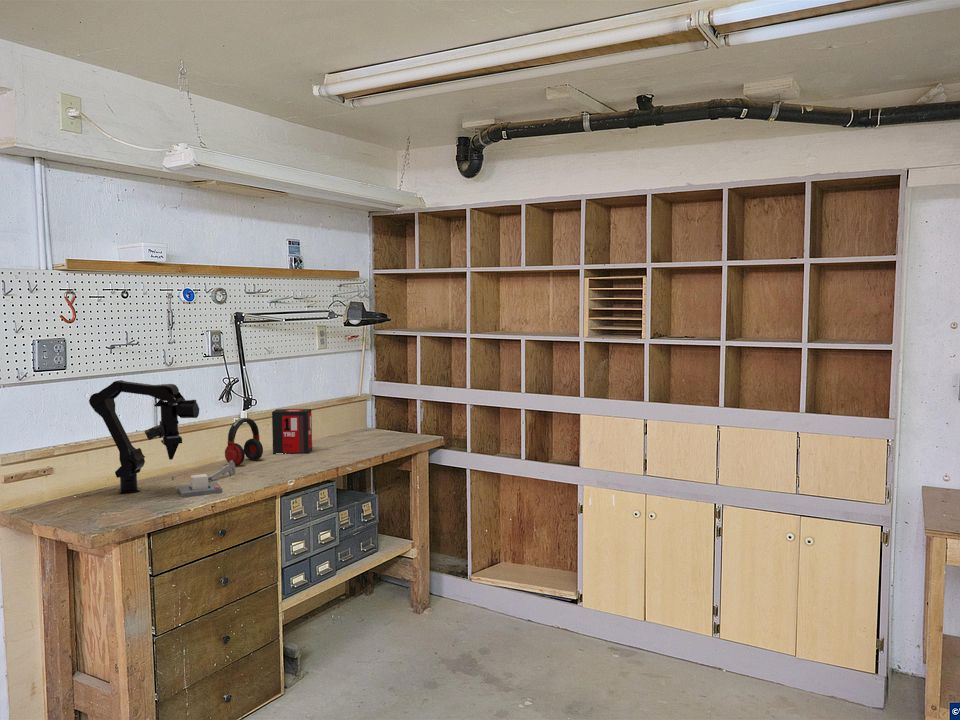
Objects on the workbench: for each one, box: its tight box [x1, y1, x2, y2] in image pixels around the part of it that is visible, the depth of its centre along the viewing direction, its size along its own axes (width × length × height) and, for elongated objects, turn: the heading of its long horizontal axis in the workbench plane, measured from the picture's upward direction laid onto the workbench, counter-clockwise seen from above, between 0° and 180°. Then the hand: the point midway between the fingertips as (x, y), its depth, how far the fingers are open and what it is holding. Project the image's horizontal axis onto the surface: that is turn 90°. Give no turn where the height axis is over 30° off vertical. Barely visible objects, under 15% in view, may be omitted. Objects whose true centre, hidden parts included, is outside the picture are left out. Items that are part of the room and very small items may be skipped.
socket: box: [177, 481, 223, 499], centre depth 271 cm, size 12×14×2 cm
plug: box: [190, 473, 213, 490], centre depth 271 cm, size 4×7×6 cm, turn 120°
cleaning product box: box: [271, 408, 313, 455], centre depth 343 cm, size 16×9×20 cm, turn 92°
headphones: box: [224, 417, 264, 467], centre depth 320 cm, size 18×10×20 cm, turn 157°
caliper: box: [207, 460, 237, 482], centre depth 289 cm, size 20×1×6 cm, turn 157°
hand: (170, 459), depth 271 cm, fingers closed
